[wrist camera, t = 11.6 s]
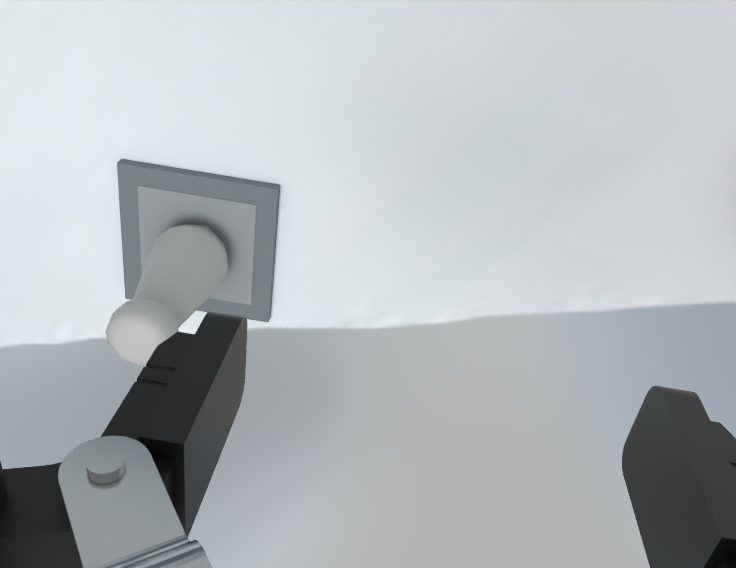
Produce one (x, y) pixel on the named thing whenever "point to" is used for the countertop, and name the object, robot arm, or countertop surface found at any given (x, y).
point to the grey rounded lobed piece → (168, 290)
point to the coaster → (203, 207)
